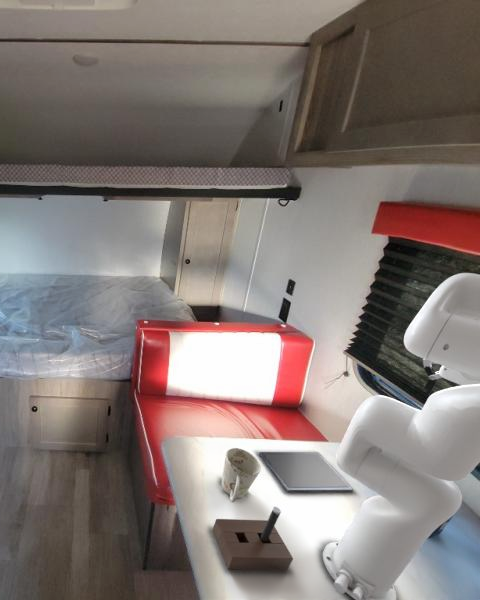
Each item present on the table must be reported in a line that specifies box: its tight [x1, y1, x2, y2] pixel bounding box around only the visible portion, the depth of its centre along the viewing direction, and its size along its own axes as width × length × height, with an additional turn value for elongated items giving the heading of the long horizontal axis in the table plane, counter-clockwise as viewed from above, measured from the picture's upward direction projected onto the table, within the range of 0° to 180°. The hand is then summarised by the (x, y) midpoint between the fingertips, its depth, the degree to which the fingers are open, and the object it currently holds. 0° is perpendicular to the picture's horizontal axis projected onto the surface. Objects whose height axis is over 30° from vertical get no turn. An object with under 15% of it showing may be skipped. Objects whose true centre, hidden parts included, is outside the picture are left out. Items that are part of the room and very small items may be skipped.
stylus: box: [260, 506, 282, 543], centre depth 73 cm, size 1×1×13 cm
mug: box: [221, 447, 262, 503], centre depth 86 cm, size 8×13×10 cm, turn 152°
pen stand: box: [211, 518, 294, 571], centre depth 74 cm, size 8×13×4 cm, turn 92°
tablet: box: [258, 451, 354, 493], centre depth 97 cm, size 20×13×1 cm, turn 95°
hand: (453, 402), depth 85 cm, fingers open, 9 cm apart
